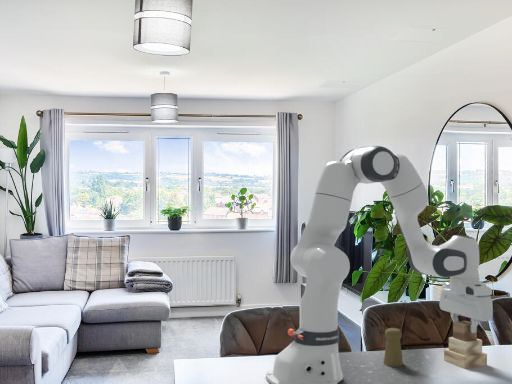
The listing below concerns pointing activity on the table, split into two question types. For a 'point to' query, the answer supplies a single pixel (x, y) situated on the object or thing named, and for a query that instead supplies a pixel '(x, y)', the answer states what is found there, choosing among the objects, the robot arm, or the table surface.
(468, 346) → the tower mid
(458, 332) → the walnut cube
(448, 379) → the table surface
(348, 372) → the table surface
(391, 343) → the cork
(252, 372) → the table surface
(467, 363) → the tower base
